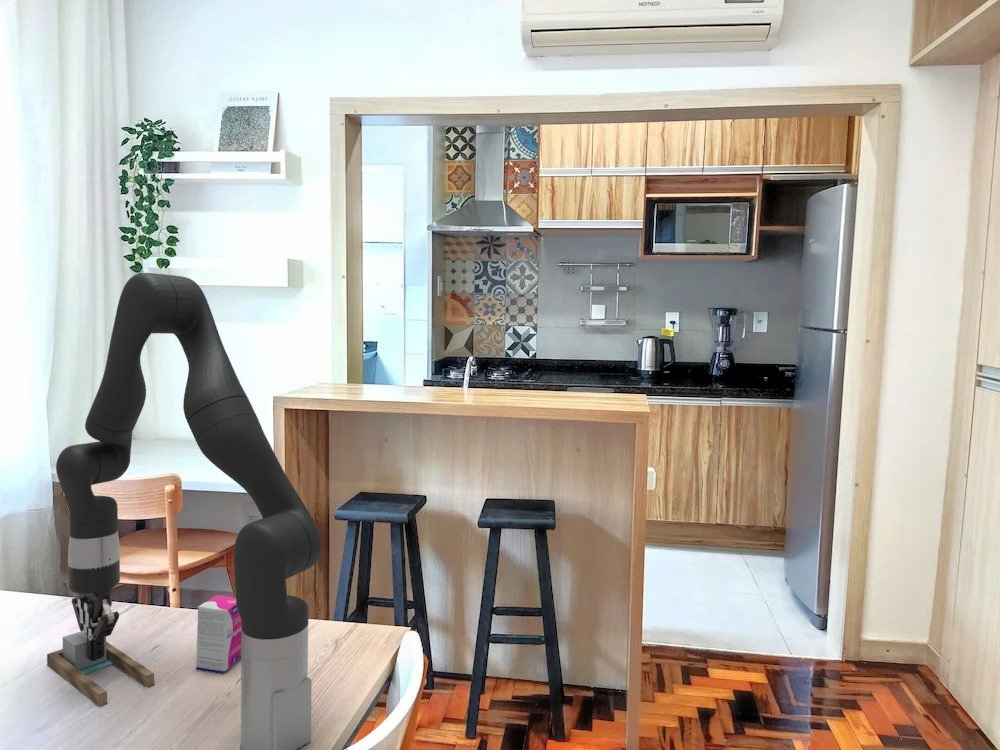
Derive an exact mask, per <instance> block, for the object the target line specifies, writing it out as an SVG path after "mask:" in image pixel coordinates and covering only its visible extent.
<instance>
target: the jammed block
mask: <svg viewBox="0 0 1000 750" xmlns="http://www.w3.org/2000/svg"><path fill="white" fill-rule="evenodd" d="M106 642H107V636H106V637H104V656H103V657H102V658H100V659H98V660H95V661H91V660H89V659H88V658H87V642H86V638H85V636H84V631H80V630H79V631H78V632H77V631H76V632H75V633H70V634H68V635H65V636H62V649H63V658H64V659H65V660H66V661H68V662H69V663H70V664H72V665H73V666H74V667H76V668H77V669H78V670H80V669H83V668H86V667H89V666H92V665H95V664H98V663H100V662H103V661H106Z"/></svg>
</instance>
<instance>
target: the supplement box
mask: <svg viewBox="0 0 1000 750" xmlns="http://www.w3.org/2000/svg"><path fill="white" fill-rule="evenodd" d="M196 624H197V626H196V627H197V628H196V629H197V630H196V632H197V633H196V660H195V661H196V662H195V663H196V665H195V670H196V671H199V670H201V671H200V672H206V671H208V673H213V672H214V673H213V674H219V673H220V674H221V675H225V674H226V673H227V672H228V671H230V670H231V669H232V668H233V667H235V666H236V665H237V664H238V663H240V662H241V661H240V660H241V635H242V624H241V618H240V615H239V612H238V609H237V604H236V597H234V596H233V597H232V596H225V595H219V594H216V595H215V596H213V597H211V598H210V599H208V600H207V601H205V602H203V603H202V604H200V605H199V606H197V623H196ZM239 661H240V662H239ZM235 664H236V665H235Z"/></svg>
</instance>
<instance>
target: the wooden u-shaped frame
mask: <svg viewBox="0 0 1000 750" xmlns="http://www.w3.org/2000/svg"><path fill="white" fill-rule="evenodd" d="M46 665H47V666H48V667H49V668H50V669H51V670H52V671H53V672H55V673H56V674H57V675H58V676H60V677H61V678H63V679H64V681H66V682H68V683H69V684H70V685H71V686H72V687H74V688H75V689H76V690H77V691H79V692H80V693H81V694H82V695H84V696H85V697H86V698H87V699H89V700H90V701H91V702H93V703H94V704H95V705H96V706H98V707H99V708H100V707H102V706H104V705H108V691H107V690H106V689H105V688H103V687H102V686H101V685H100V684H98V683H97V682H96V681H94V680H93V679H92V678H90V677H89V676H87V675H88V674H90V673H93V672H97V671H99V670H102V669H105V668H108V667H111V666H113V665H114V666H115V667H117V668H118V669H120V670H121V671H123V672H124V673H125V674H126V675H128V676H129V677H130V678H132V677H133V678H132V679H133V680H135V679H136V680H135V681H137V683H139V682H140V684H141V685H142V684H143V685H142V686H144V687H145V686H146V687H145V688H147V687H148V688H150V687H152V685H153V686H155V673H154V672H153V671H151V670H150V669H149V668H147V667H145V666H144V665H143V664H141V663H139V662H138V661H136V660H135V659H133V658H132V657H130V656H129V655H128V654H126V653H125V652H123V651H122V650H119V648H117V647H116V646H114V645H112V644H111V643H109V642H108V641H106V661H103V662H100V663H98V664H95V665H92V666H89V667H86V668H83V669H80V670H78V669H77V668H76V667H74V666H73V665H72V664H70V663H69V662H68V661H66V660H65V659H64V658H63V648H62V649H60V650H59V649H58V650H56V651H52V652H50V653H47V654H46ZM149 686H150V687H149Z"/></svg>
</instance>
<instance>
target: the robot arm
mask: <svg viewBox="0 0 1000 750" xmlns="http://www.w3.org/2000/svg"><path fill="white" fill-rule="evenodd" d="M151 334H169V335H171V334H173V335H174V336H175V337H176V339H177V340H178V341H179V343H180V346H181V348H182V350H183V353H184V354H185V357H186V361H187V363H188V375H187V378H186V380H187V381H186V384H185V389H184V394H183V405H182V406H183V408H182V410H183V414H184V417H185V420H186V423H187V425H188V427H189V429H190V432H191V433H192V436H193V439H194V441H195V442H196V445H197V446H198V448H199V449H200V450H199V451H200V452H201V453H202V454H203V455H204V457H205V458H206V459H208V461H210V462H211V463H212V464H213V465H214V466H215V467H216V468H217V469H219V470H220V471H221V472H223V473H224V474H225V475H226V476H228V477H229V478H230V479H232V480H233V481H234V482H236V484H238V485H239V486H240V487H241V488H242V489H244V491H245V492H246V493H247V495H249V497H250V498H251V499H252V501H253V502H254V504H255V506H256V509H257V510H258V511H259V513H260V515H261V517H262V518H259V519H257V520H254V521H252V522H249V523H247V524H246V525H244V526H243V527H242V528H241V529H240V530H239V532H238V534H237V537H236V538H235V541H234V542H235V543H234V549H233V567H234V589H235V598H236V604H237V609H238V612H239V615H240V618H241V624H242V635H241V661H240V667H241V668H240V669H241V670H240V747H241V750H298V749H300V748H301V747H303V746H305V745H307V744H309V743H310V742H311V741H312V689H313V688H312V686H313V685H312V679H311V678H310V677H308V673H309V672H308V669H309V668H308V667H309V619H310V618H309V613H310V611H309V606H308V604H307V602H306V601H305V600H304V599H302V598H301V597H298V596H294V595H291V594H290V595H288V592H287V579H289V578H291V577H294V576H296V575H298V574H301V573H303V572H305V571H307V570H309V569H311V568H312V567H314V566H315V565H316V563H317V562H318V561H319V559H320V556H321V554H322V539H321V535H320V532H319V529H318V526H317V524H316V522H315V520H314V518H313V516H312V515H311V513H310V511H309V510H308V508H307V507H306V505H305V503H304V502H303V500H302V499H301V497H300V495H299V494H298V492H297V490H296V489H295V487H294V485H293V484H292V482H291V481H290V479H289V477H288V476H287V474H286V472H285V471H284V469H283V467H282V466H281V463H280V461H279V459H278V458H277V456H276V453H275V452H274V449H273V448H272V446H271V444H270V441H269V440H268V438H267V436H266V434H265V432H264V430H263V427H262V425H261V423H260V419H259V417H258V416H257V414H256V411H255V410H254V408H253V406H252V403H251V402H250V401H251V400H250V399H249V397H248V395H247V393H246V391H245V389H244V388H243V386H242V384H241V382H240V379H239V378H238V376H237V373H236V371H235V369H234V366H233V365H232V363H231V360H230V358H229V356H228V354H227V351H226V349H225V346H224V344H223V341H222V338H221V336H220V333H219V330H218V327H217V325H216V322H215V318H214V316H213V313H212V309H211V307H210V304H209V301H208V300H207V298H206V295H205V293H204V291H203V290H202V288H201V287H200V284H198V283H197V282H196V281H195V280H193V279H191V278H188V277H186V276H182V275H176V274H175V275H173V274H166V273H154V272H153V273H152V272H139V273H135V274H134V275H132V276H131V277H130V278H129V279H128V280H127V282H126V283H125V285H124V286H123V287H122V291H121V293H120V296H119V300H118V304H117V308H116V312H115V317H114V322H113V327H112V331H111V336H110V341H109V347H108V351H107V359H106V362H105V363H106V364H105V367H104V371H103V376H102V378H101V380H100V385H99V388H98V390H97V392H96V395H95V398H94V399H93V402H92V404H91V407H90V409H89V411H88V414H87V417H86V419H85V423H84V426H85V427H84V428H85V432H86V433H87V435H88V436H89V437H91V438H92V439H94V440H96V441H93V442H88V443H87V442H86V443H80V444H79V443H78V444H73V445H69V446H67V447H65V448H64V449H63V450H62V451H60V453H59V455H58V458H57V460H56V464H55V470H56V475H57V480H58V482H59V484H60V485H59V486H60V487H61V490H62V493H63V495H64V499H65V502H66V505H67V508H68V509H67V510H68V513H69V514H68V515H69V516H68V517H69V518H68V519H69V540H68V541H69V542H68V548H67V558H68V559H67V563H68V564H67V567H68V569H67V571H68V572H67V573H68V575H67V576H68V580H67V581H68V583H67V585H68V589H69V591H70V592H72V593H74V594H77V595H78V596H77V597H73V598H71V604H72V607H73V611H74V614H75V618H76V621H77V624H78V628H79V632H80V631H84V636H85V638H86V642H87V658H88V659H89V660H91V661H95V660H98V659H100V658H102V657H103V656H104V637H106V638H107V637H109V636H111V635H112V633H113V631H114V629H115V627H116V625H117V622H118V620H119V618H120V612H119V611H114V612H113V611H112V608H111V607H112V606H113V605H112V604H113V598H112V596H111V590H112V589H114V588H115V587H116V586H117V585H118V584H119V583H120V580H121V565H120V564H121V563H120V561H121V560H120V559H121V555H120V553H121V552H120V551H121V549H120V538H119V531H118V530H119V523H118V521H119V519H118V518H119V517H118V516H119V515H118V511H119V509H118V507H119V506H118V503H117V501H116V499H115V498H113V497H112V496H108V495H95V493H94V492H93V489H92V486H94V485H98V484H103V483H109V482H112V481H113V482H114V481H116V480H118V479H119V478H121V477H122V476H123V475H124V474H125V473H126V471H127V470H128V468H129V467H130V463H131V453H132V451H131V450H132V442H133V432H134V429H135V427H136V425H137V422H138V420H139V419H140V418H139V417H140V415H141V413H142V411H143V409H144V406H145V402H146V398H147V386H146V382H145V376H144V373H143V370H142V365H141V364H142V363H141V356H142V351H143V349H144V346H145V344H146V342H147V341H148V339H149V338H150V336H151Z"/></svg>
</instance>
